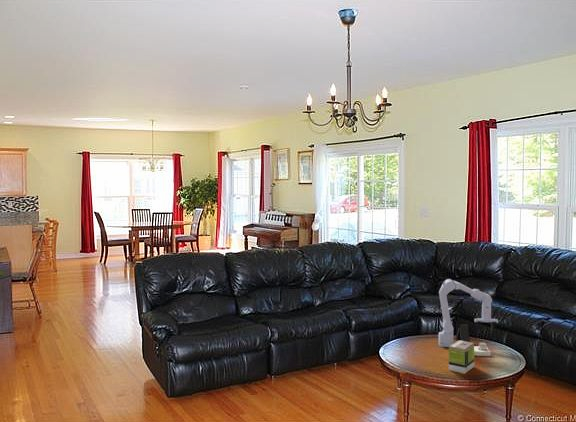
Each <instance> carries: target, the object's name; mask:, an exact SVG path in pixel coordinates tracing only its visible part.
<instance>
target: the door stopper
mask: <svg viewBox="0 0 576 422" xmlns="http://www.w3.org/2000/svg"><path fill="white" fill-rule="evenodd" d="M458 340H460V341H466V342H471V339H470V333H469V325H468V324H467V323H461V324H457V332H456V335H455V342H456V341H458Z"/></svg>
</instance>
